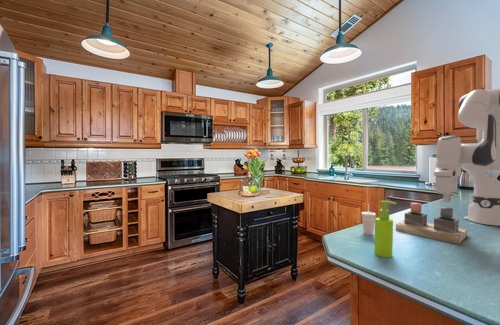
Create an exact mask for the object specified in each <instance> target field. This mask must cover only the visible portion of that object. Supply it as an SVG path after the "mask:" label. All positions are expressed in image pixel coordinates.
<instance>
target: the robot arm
mask: <svg viewBox="0 0 500 325" xmlns="http://www.w3.org/2000/svg"><path fill="white" fill-rule="evenodd" d="M458 109H459V110H458V112H457V118H458V121H459V123H460V124H461V125H464V126H466V127H467V128H470V129H476V136H475V138H476V141H477V142H475V143H473V142H472V143H462V141H461V137H460V135H446V136H441V137H439V138H438V139H437V144H436V154H435V156H436V157H435V158H436V163H435V170H434V171H433V176H434V177H435V179H434V181H435V191H436V194H440V195H442V197H443V203H447V204H448V203H450V202H451V199H452V198H451V197H452V193H454V192H457V190H458V177H461V175H462V170H464V171H465V172H466V173H467V174H468V175H469V176H470V177H471V179H472V181H473V195H472V197H471V198H472V203H471V204H469V205H468V212H467V215H466V216H464V217H463V219H464V220H468V221H470V222H474V223H477V224H482V225H488V226H489V225H490V226H500V180H499V179H497V178H494V177H491V176H490V175H489V174H488V172H498V173H499V172H500V88H493V89H492V88H491V89H482V88H481V89H478V88H477V89H474V90H472V91H470V92H469V93H467V94H463V95H461V97H459V100H458Z"/></svg>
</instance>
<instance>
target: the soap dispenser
mask: <svg viewBox="0 0 500 325" xmlns="http://www.w3.org/2000/svg"><path fill="white" fill-rule="evenodd" d="M379 203H380V204H381V208H379V209H378V216H377V217H375V222H374V251H373V252H374V254H375V255H376V256H379V257H383V258H391V257H393V240H394V239H393V238H394V220H393V219H392V218H390V210H389V209H388V204H392V205H395V206H396V205H397V202H395V201H392V200H391V201H390V200H380V201H379Z"/></svg>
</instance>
